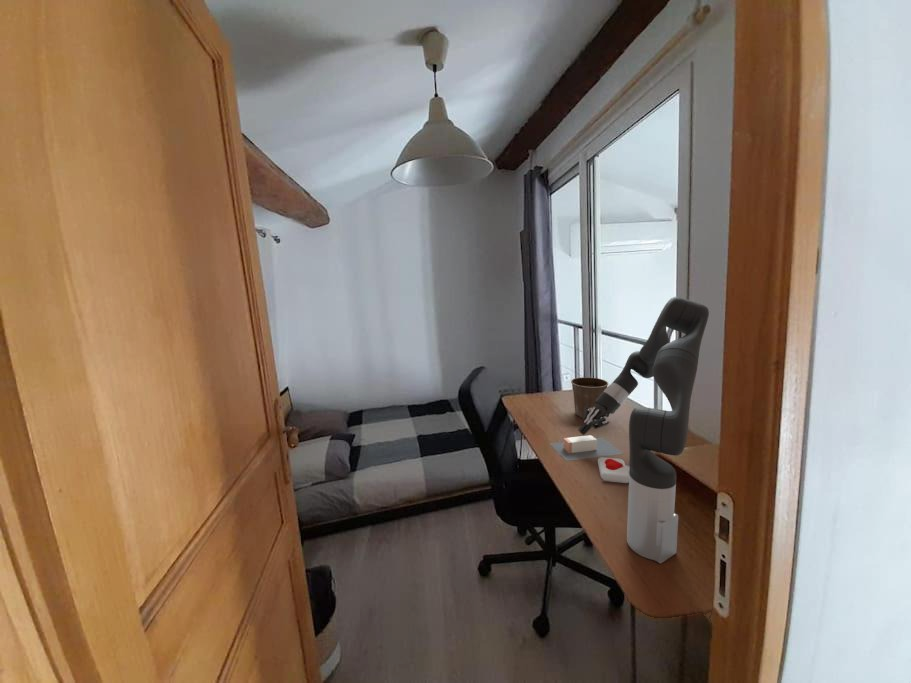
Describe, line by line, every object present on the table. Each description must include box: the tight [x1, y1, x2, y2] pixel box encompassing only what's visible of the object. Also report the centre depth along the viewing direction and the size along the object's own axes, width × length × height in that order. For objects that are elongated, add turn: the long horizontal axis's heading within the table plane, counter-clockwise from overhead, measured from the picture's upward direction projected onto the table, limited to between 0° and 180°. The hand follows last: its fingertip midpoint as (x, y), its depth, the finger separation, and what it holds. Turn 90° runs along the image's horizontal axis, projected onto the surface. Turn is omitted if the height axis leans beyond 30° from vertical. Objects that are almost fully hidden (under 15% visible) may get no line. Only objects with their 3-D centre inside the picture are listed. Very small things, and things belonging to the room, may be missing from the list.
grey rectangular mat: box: [549, 437, 625, 462], centre depth 129 cm, size 22×14×1 cm, turn 99°
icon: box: [597, 456, 629, 484], centre depth 112 cm, size 12×4×10 cm
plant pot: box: [570, 376, 609, 419], centre depth 161 cm, size 16×16×16 cm
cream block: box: [563, 434, 597, 453], centre depth 128 cm, size 4×4×11 cm
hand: (580, 432), depth 127 cm, fingers closed
